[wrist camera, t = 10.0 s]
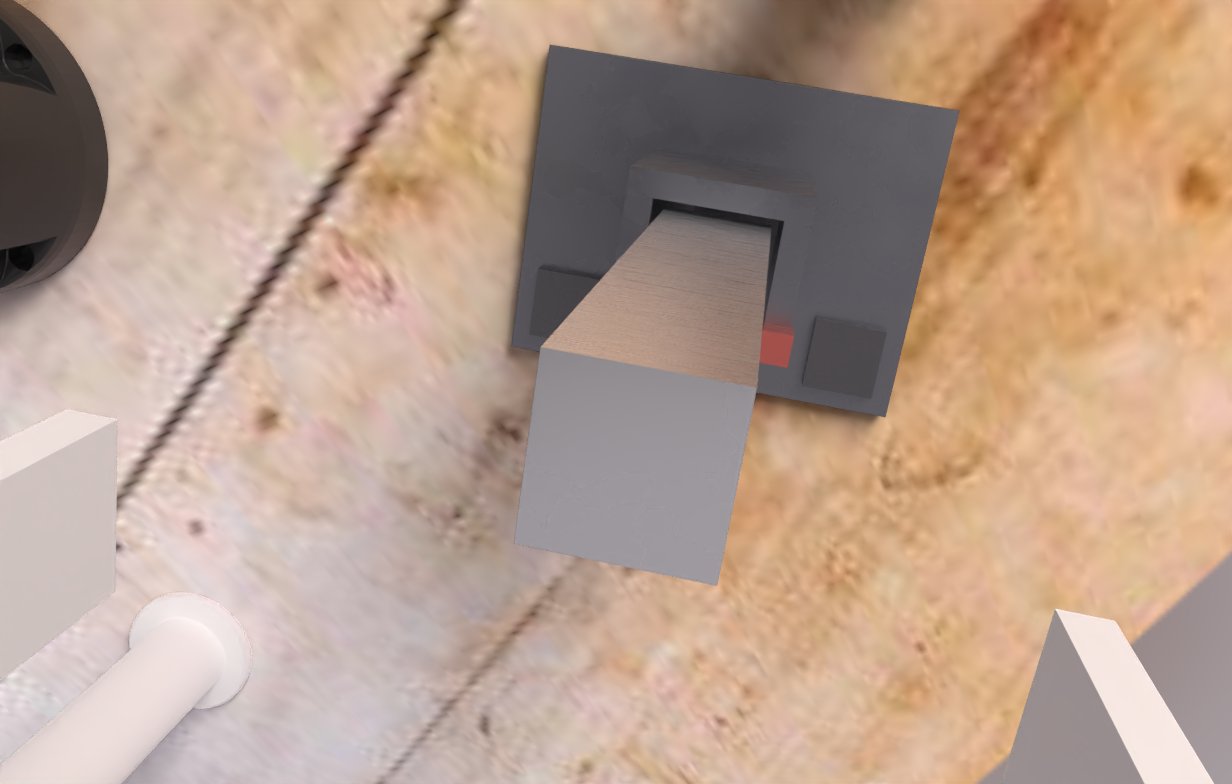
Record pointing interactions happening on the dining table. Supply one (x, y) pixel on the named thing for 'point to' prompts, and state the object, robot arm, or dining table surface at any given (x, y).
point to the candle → (140, 695)
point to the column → (650, 402)
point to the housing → (742, 205)
